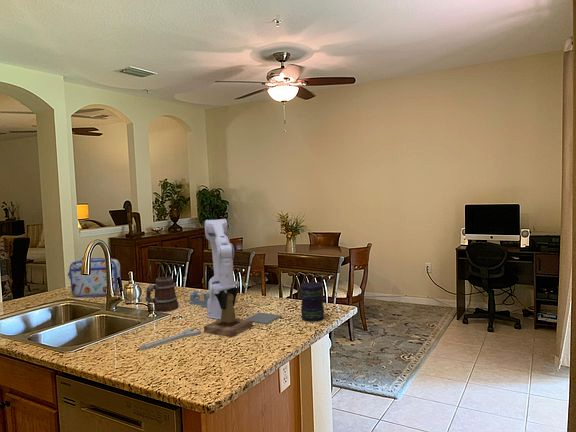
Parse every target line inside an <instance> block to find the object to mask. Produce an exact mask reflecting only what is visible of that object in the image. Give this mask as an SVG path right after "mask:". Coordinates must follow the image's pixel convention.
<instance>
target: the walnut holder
mask: <svg viewBox="0 0 576 432" xmlns="http://www.w3.org/2000/svg"><path fill="white" fill-rule="evenodd" d="M235 318H236V320H235V321H233V322H221V319H216V320H214V321H212V322H210V323H208V324H206V325H203V333H207V334H210V335H211V334H212V335H217V336H222V337H228V338H234V337H236V336H237V335H239V334H241V333H243V332H245V331H248V330H249V329H250V328H253V322H252V321H250V320H244V319H245V318H237V317H235Z"/></svg>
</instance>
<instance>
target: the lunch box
mask: <svg viewBox="0 0 576 432" xmlns="http://www.w3.org/2000/svg"><path fill="white" fill-rule="evenodd" d="M90 258H91V274H90V275H88V276H82V275H81V274H80V271H81V265H82V260H83V257H82V258H81V259H80V260H75V261H72V262H71V264H70V265H69V268H68V272H67V277H68V279H69V280H70V281H69V282H70V288H71V289H70V290H71V293H72V295H73V296H75V297H78V298H91V297H93V298H95V297H102V296H103V297H104V296H107V295H106V289H107V284H106V267H105V258H103V257H96V258H95V257H93V258H92V257H90ZM110 259H111V264H112V278H113V287H114V294H115V293H117V292H119V291H120V290H119V287H118V282H117V278H118V277H120V278H121V264H120V262H119V260H118V259H116V258H110Z"/></svg>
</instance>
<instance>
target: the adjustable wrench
mask: <svg viewBox="0 0 576 432" xmlns="http://www.w3.org/2000/svg"><path fill="white" fill-rule="evenodd" d="M201 332H202V331H201V329H197V330H195V329H194V328H192V327H191V328H187V329H184V330H182V331H181V332H180V333H178V334H175V335H171V336H168V337H165V338H161V339H158V340H155V341H151V342H148V343H145V344H142V345H139V346H138V347H139V348H138V349H139V351H146V350H148V349H152V348H155V347H158V346H161V345H165V344H168V343H171V342H174V341H177V340H181V339H185V338H191V337H197V336H199V335H200V334H201Z"/></svg>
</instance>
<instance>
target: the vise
mask: <svg viewBox="0 0 576 432" xmlns="http://www.w3.org/2000/svg"><path fill="white" fill-rule="evenodd" d="M187 295H190V297H189V299H190V301H189V302H188V303H189V305H198V306H201V308H203V309H204V308H205V309H206V308H207V302H208V299H209V298H210V296H209V291H205V292H202V289H199V290H194V291H193V290H191V291H190V292H188V293H187V292H184V293H183V296H186V297H187Z"/></svg>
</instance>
